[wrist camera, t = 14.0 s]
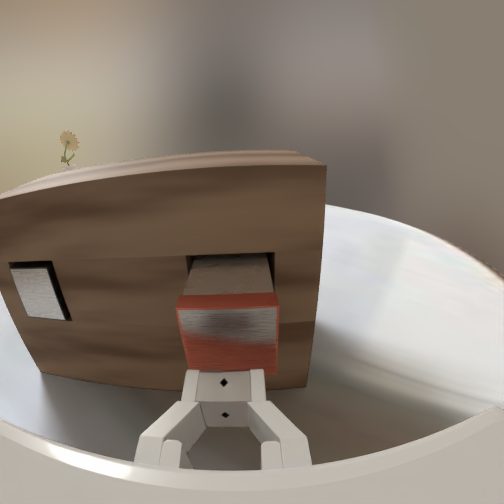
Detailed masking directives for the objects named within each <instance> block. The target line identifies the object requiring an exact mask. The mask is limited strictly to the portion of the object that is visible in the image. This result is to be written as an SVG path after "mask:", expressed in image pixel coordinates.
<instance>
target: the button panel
mask: <svg viewBox="0 0 504 504" xmlns="http://www.w3.org/2000/svg"><path fill="white" fill-rule="evenodd" d="M326 167H327V165H325V164H323V163H320V162H318V161H316V160H314V159H311V158H309V157H307V156H305V155H302V154H300V153H298V152H295V151H293V150H287V149H284V150H279V149H278V150H237V151H236V150H235V151H217V152H201V153H189V154H178V155H168V156H158V157H150V158H142V159H134V160H127V161H120V162H114V163H107V164H101V165H95V166H90V167H84V168H79V169H74V170H69V171H65V172H60V173H55V174H51V175H47V176H44V177H42V178H39V179H36V180H34V181H31V182H29V183H26V184H23V185H21V186H19V187H16V188H14V189H11V190H9V191H7V192H4V193H2V194H0V291H1V294H2V296H3V299H4V301H5V304H6V306H7V308H8V311H9V313H10V315H11V317H12V319H13V322H14V324H15V326H16V328H17V330H18V332H19V334H20V336H21V338H22V340H23V342H24V344H25V346H26V347H27V349H28V351H29V353H30V355H31V356H32V358H33V360H34V362H35V363H36V365H37V367H38V368H39V370H40V372H44V373H49V374H53V375H58V376H63V377H68V378H73V379H78V380H84V381H90V382H97V383H103V384H110V385H118V386H127V387H136V388H147V389H160V390H177V391H183V386H184V381H185V375H186V372H187V370H189V367H188V363H187V359H186V354H185V350H184V346H183V342H182V337H181V333H180V328H179V323H178V318H177V314H176V309H175V308H176V305H177V302H178V299H179V296H180V295H183V293H184V290H185V287H186V283H187V280H188V277H189V274H190V271H191V268H192V265H193V262H194V259H195V256H196V255H210V254H236V253H262V252H266V254H267V259H268V264H269V269H270V274H271V280H272V285H273V290H274V292H277V296H278V301H279V331H278V357H277V375H264V379H265V390H274V389H287V388H298V387H306V383H307V377H308V370H309V364H310V357H311V350H312V343H313V335H314V327H315V319H316V311H317V302H318V292H319V282H320V272H321V260H322V248H323V234H324V217H325V196H326V169H327V168H326ZM50 260H52V263H53V266H54V269H55V272H56V276H57V279H58V282H59V285H60V288H61V291H62V293H63V296H64V299H65V302H66V304H67V307H68V310H69V312H70V317H69V318H68V319H67V321H61V320H50V319H41V318H32V317H28V316H27V314H26V312H25V309H24V307H23V304H22V302H21V300H20V297H19V295H18V292H17V289H16V287H15V284H14V281H13V279H12V276H11V273H10V270H9V268H10V267H11V266H12V265H13V264H14V263H16V262H23V261H50ZM250 381H251V380H250Z"/></svg>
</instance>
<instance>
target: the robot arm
mask: <svg viewBox="0 0 504 504" xmlns="http://www.w3.org/2000/svg"><path fill="white" fill-rule="evenodd" d="M250 380H251V381H250ZM206 427H249V429H250V430H251V431H252V433H253V434H254V435H255V437H256V438H257V439H258V440H259V442H260V443H261V470H245V471H221V470H197V469H194V467H193V465H192V463H191V461H190V460H189V458H188V455H187V452H188V451H189V449H190V448H191V447H192V446H193V444H194V443H195V442H196V441H197V439H198V438H199V437H200V436H201V434H202V433H203V432H204V430H205V429H206ZM0 504H504V409H502V408H499V407H491V408H489V409H487V410H485V411H483V412H481V413H479V414H477V415H475V416H473V417H471V418H469V419H467V420H465V421H463V422H460V423H458V424H456V425H454V426H451V427H449V428H447V429H444V430H442V431H439V432H437V433H434V434H432V435H429V436H426V437H424V438H421V439H418V440H415V441H412V442H409V443H406V444H403V445H400V446H397V447H393V448H390V449H387V450H383V451H379V452H376V453H372V454H368V455H364V456H359V457H355V458H350V459H345V460H340V461H335V462H329V463H323V464H317V465H312V462H311V456H310V451H309V445H308V440H307V437H306V436H305V435H304V434H303V433H302V432H301V431H300V430H299V429H298V428H297V427H296V426H295V425H294V424H293V423H292V422H291V421H290V420H289V419H288V418H287V417H286V416H285V415H284V414H283V413H282V412H281V411H280V410H279V409H278V408H277V407H276V406H275V405H274V404H273V403H272V402H271V401H266V390H265V379H264V370H263V369H247V370H225V371H222V370H187V372H186V375H185V381H184V386H183V392H182V397H181V401H177V402H176V403H175V404H173V405H172V406H171V407H170V408H169V409H168V410H167V411H166V412H165V413H164V414H163V415H162V416H161V417H159V418H158V419H157V420H156V421H155V422H154V423H153V424H152V425H151V426H150V427H149V428H147V429H146V430H145V431H144V432H143V433H142V434H141V435H140V437H139V441H138V445H137V449H136V454H135V458H134V462H132V461H126V460H121V459H117V458H112V457H108V456H103V455H99V454H95V453H92V452H88V451H84V450H81V449H77V448H74V447H71V446H68V445H65V444H62V443H59V442H56V441H53V440H50V439H47V438H45V437H42V436H39V435H37V434H34V433H32V432H29V431H27V430H25V429H22V428H20V427H18V426H15V425H13V424H11V423H9V422H7V421H5V420H3V419H1V418H0Z"/></svg>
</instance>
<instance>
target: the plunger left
mask: <svg viewBox="0 0 504 504" xmlns="http://www.w3.org/2000/svg"><path fill="white" fill-rule="evenodd" d="M9 270H10V273H11V276H12V279H13V281H14V284H15V287H16V289H17V292H18V295H19V297H20V300H21V302H22V304H23V307H24V309H25V312H26V314H27V316H28V317H32V318H41V319H50V320H61V321H67V319H68V318H69V317H70V312H69V310H68V307H67V304H66V302H65V299H64V296H63V293H62V291H61V288H60V285H59V282H58V279H57V276H56V272H55V269H54V266H53V263H52V260H50V261H23V262H16V263H14V264H13V265H12V266H11V267H10V268H9Z"/></svg>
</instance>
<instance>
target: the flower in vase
mask: <svg viewBox="0 0 504 504" xmlns="http://www.w3.org/2000/svg"><path fill="white" fill-rule="evenodd" d="M60 138H61V143H62V144H63V145H64V146H65V152H66V149H68V150H70V149H71V150H72V151H76V149H78V147H79V146H78V143H79V142H78V141H77V138H75V134H73V135H72V133H71V132H70V133H69V131H67V133H66V132H65V131H64V132H63V133H62V134H61V136H60ZM65 152H64V157H63V156H62V159H61V162H65V163H66V162H67V164H68V166H67V167H63V169H64V170H65V171H69V170H74V169H76V167H77V164H75V165H71V166H69V163H68V162H69V160H71V159H72V158H73V157H74V154H73V155H72V157H71V158H69V160H68V161H67V160H66V156H65Z"/></svg>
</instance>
